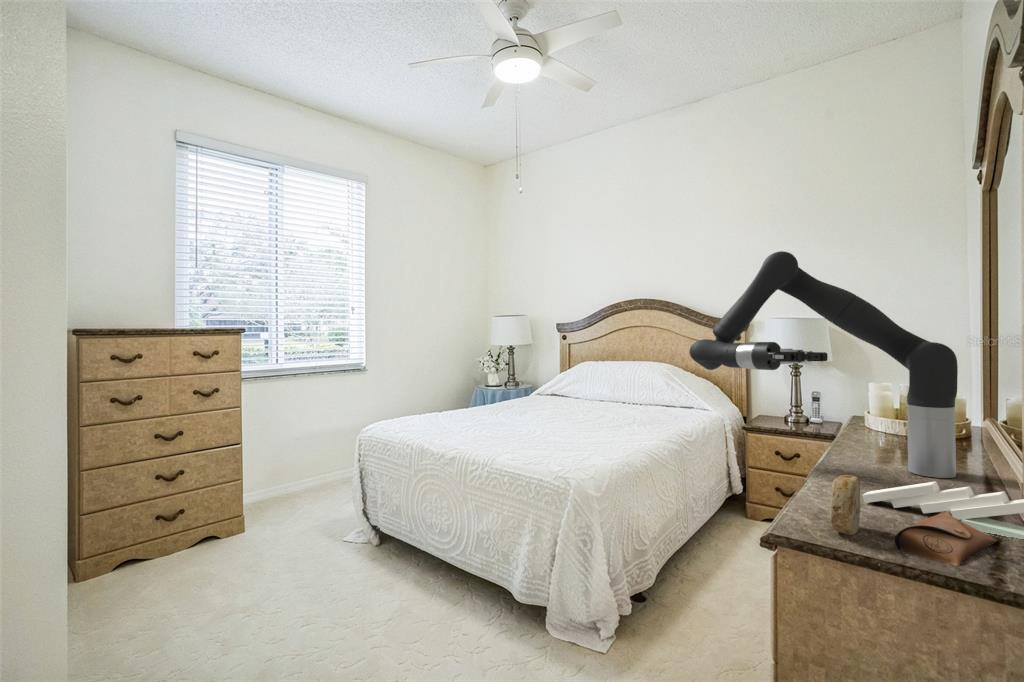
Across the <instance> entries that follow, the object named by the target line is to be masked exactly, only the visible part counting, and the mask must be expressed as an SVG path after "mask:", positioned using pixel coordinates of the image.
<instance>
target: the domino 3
mask: <svg viewBox="0 0 1024 682" xmlns="http://www.w3.org/2000/svg"><path fill="white" fill-rule="evenodd" d="M1008 501H1010V499H1009V497H1008V495H1007V494H1006V491H1005V490H1004V491H997V492H988V493H983V494H982V493H981V494H974V496H972V497H970V498H968V499H960V500H952V501H944V502H937V503H929V504H921V505H919V507H920V510H921V512H922V513H923V514H924V515H925V514H931V513H939V512H940V513H941V512H943V511H947V512H950V511H951V510H958V509H967V508H976V507H984V506H993V505H1002V504H1005V503H1007V502H1008Z"/></svg>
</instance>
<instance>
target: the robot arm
mask: <svg viewBox="0 0 1024 682" xmlns="http://www.w3.org/2000/svg"><path fill="white" fill-rule="evenodd" d="M776 291H781V292H783V293H785V294H786V295H788V296H791V297H793V298H795V299H796V300H799V301H800V302H801V303H803V305H806V306H807V307H809V308H810V309H811V310H812V311H814V312H815V313H817V314H818V315H820V316H821V317H823V318H824V319H825V320H827V321H828V322H829V323H832V324H833V325H835V326H836V327H838V328H839V329H841V330H843V331H844V332H846V333H847V334H850V335H852V336H854V337H856V338H857V339H859V340H861V341H863V342H865V343H868V344H869V345H872V346H873V347H876V348H878V349H879V350H882V352H884V353H885V354H887V355H888V356H890V357H891V358H893V359H894V360H896V362H898V363H899V364H901V365H902V366H903V367H904V368H906V369H907V370H908V371H909V373H908V375H909V376H908V377H909V378H908V379H909V380H908V381H909V383H908V384H909V386H908V392H907V395H906V398H907V399H906V403H907V404H906V406H907V409H906V410H907V411H906V413H907V470H908V472H909V473H911V474H915V475H918V476H923V477H931V478H937V479H938V478H939V479H952V478H956V477H957V471H956V470H957V467H956V465H957V463H956V462H957V459H956V457H957V455H956V453H957V452H956V451H957V450H956V448H957V447H956V445H957V444H956V398H957V395H958V373H959V372H958V371H959V370H958V369H959V367H958V360H957V355H956V354H955V353H956V352H954V351H953V349H952V348H950V347H949V346H947V345H946V344H943V343H940V342H936V341H935V342H932V341H929V340H927V339H925V338H922V337H920V336H918V335H916V334H914V333H912V332H911V331H908V330H906V329H904V328H903V327H901V326H900V325H898V324H897V323H895V321H893V320H892V319H891V318H890V317H889V316H888V315H887V314H885V313H884V312H883V311H882V310H880V309H879V308H877V307H876V306H875V305H873V304H872V303H870V302H868V301H866V300H865V299H864V298H862V297H860V296H858V295H857V294H855V293H853V292H851V291H849V290H846V289H845V288H842V287H838V286H836V285H833V284H830V283H827V282H824V281H821V280H819V279H817V278H815V277H814V276H812V275H811V274H810V273H809V272H806V271H805V270H803V269H802V268H800V267H799V263H798V260H797V258H796V256H795V255H794V254H793V253H791V252H788V251H783V250H781V251H776V252H773V253H772V254H770V255H768V256H767V257H766V258H765V259H764V261H763V262H762V266H761V267H760V269H759V271H758V272H757V274H756V275H755V277H754V279H753V280H752V281H751V283H750V285H748V287H747V288H746V290H745V291H744V292H743V294H741V296H740V297H739V298H738V299H737V300H736V302H735V303H734V304H733V305H732V306H731V307H730V308H729V309H728V310H727V312H726V313H725V314H724V315H723V316H722V318H721V319H720V320H719V321H718V322H717V323H716V325H715V326H714V327H713V329H712V333H713V336H714V337H715V339H706V338H705V339H699V340H697V341H695V342H693V344H691V346H690V348H689V353H688V354H689V355H690V358H691V359H692V360H693V361H695V362H696V363H697V364H698V365H700V366H702V367H703V368H704V369H706V370H708V371H713V370H716V369H718V368H720V367H721V366H724V367H727V368H734V369H735V368H738V369H747V370H762V371H775V370H778V369H779V368H780V366H781V365H788V364H789V365H790V364H791V365H792V364H803V363H811V362H821V363H822V362H823V363H824V362H827V361H828V353H827V352H824V351H823V352H820V351H815V352H814V351H812V350H808V351H807V350H805V351H804V350H803V349H793V348H781V346H780V345H779V343H777V342H776V341H749V342H736V340H737V339H738V338H739V337H740V336H741V335H742V334H743V333H744V331H745V330H746V329H747V328H748V327H749V325H750V324H751V322H752V321H753V320H754V319H755V316H757V314H758V312H760V310H761V308H762V307H763V306H764V304H765V303H766V302H767V301H768V300H769V298H771V297H772V296H773V294H774V293H775V292H776Z"/></svg>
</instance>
